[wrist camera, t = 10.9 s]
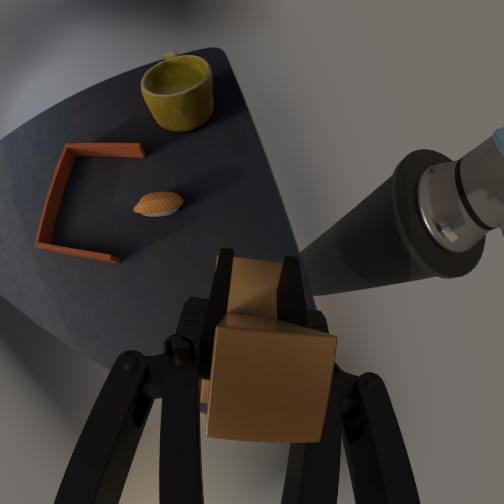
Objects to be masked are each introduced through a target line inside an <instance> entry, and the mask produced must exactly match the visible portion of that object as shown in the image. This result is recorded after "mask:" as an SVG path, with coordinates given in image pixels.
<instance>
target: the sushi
mask: <svg viewBox="0 0 504 504" xmlns="http://www.w3.org/2000/svg"><path fill="white" fill-rule="evenodd" d="M182 204H183V200H182V198H181V197H180V196H179V195H177V194H175V193H172V192H155V193H150V194H147V195H145V196H143V197H142V198H141V200H140V202H139V203H138V204H137V205H136V206H135V207H134V212H138V213H142V214H143V215H144V216H150V217H156V216H165V215H171V214H173V213H175V212H176V211H177V210H178V208H179V207H180V206H181V205H182Z"/></svg>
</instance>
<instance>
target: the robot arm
mask: <svg viewBox="0 0 504 504" xmlns="http://www.w3.org/2000/svg"><path fill="white" fill-rule="evenodd" d="M414 196H415V206H416V210H417V214H418V217H419V220H420V222H421V225H422V227H423V229H424V230H425V232H426V234H427V235H428V237H429V238H430V239H431V240H432V242H433V243H434V244H435V245H436V246H438V247H439V248H440V249H442V250H443V251H445V252H448V253H452V254H457V253H461V252H464V251H467V250H469V249H470V248H472V247H473V246H474V245H475V244H476V243H477V242H478V241H479V240H480V239H481V238H482V237H484V236H485V235H486V233H488V232H489V231H490V230H492V229H495V228H498V227H500V228H501V231H502V233H503V235H504V127H503V128H501V129H497V130H496V131H495V132H494V133H493V135H492V136H491V137H490V138H488V139H487V140H486V141H484V142H483V143H482V144H480V145H479V146H477V147H476V148H475V149H473V150H472V151H470V152H469V153H467V154H466V155H465V156H463V157H462V158H461V159H459V160H457V161H452V162H446V163H441V164H436V165H433V166H431V167H429V168H428V169H426V170H425V171H424V172H422V173H421V175H420V176H419V177H418V179H417V182H416V185H415V194H414ZM233 258H234V249H228V248H221V249H220V253H219V257H218V262H217V266H216V271H215V275H214V280H213V284H212V289H211V293H210V298H209V299H204V298H197V297H190V298H189V299H188V300H187V301H186V302H185V303H184V306H183V310H182V313H181V317H180V320H179V323H178V327H177V330H176V334H173V335H171V336H169V337H168V338H167V339H166V340H165V343H164V350H165V353H163V354H161V355H157V356H146V357H145V356H144V355H143V354H142V353H140V352H138V351H134V350H129V351H125V352H123V353H122V354H120V355H119V357H118V358H117V359H116V361H115V363H114V365H113V367H112V369H111V371H110V373H109V375H108V377H107V379H106V381H105V383H104V385H103V387H102V389H101V392H100V394H99V396H98V398H97V400H96V402H95V404H94V406H93V408H92V410H91V413H90V415H89V417H88V419H87V421H86V424H85V426H84V428H83V431H82V433H81V435H80V437H79V440H78V442H77V444H76V447H75V449H74V452H73V454H72V456H71V459H70V461H69V464H68V466H67V469H66V471H65V474H64V477H63V479H62V482H61V485H60V487H59V490H58V493H57V496H56V499H55V502H54V504H118V503H119V500H120V497H121V494H122V491H123V488H124V485H125V482H126V479H127V475H128V473H129V470H130V467H131V464H132V461H133V458H134V455H135V452H136V449H137V446H138V444H139V441H140V438H141V435H142V432H143V429H144V427H145V424H146V421H147V418H148V416H149V413H150V410H151V408H152V405H153V402H154V399H158V398H162V410H161V428H160V458H159V460H160V461H159V495H160V496H159V499H160V504H204V498H203V482H202V463H201V438H200V386H199V384H200V378H201V379H205V380H210V375H211V365H212V356H213V347H214V338H215V329H216V327H217V325H218V324H219V323H220V321H221V320H222V319H223V318H224V316H225V315H226V314H227V307H228V300H229V293H230V285H231V276H232V267H233ZM276 301H277V319H279V320H282V321H285V322H289V323H292V324H295V325H299V326H302V327H306V328H309V329H313V330H316V331H320V332H323V333H327V334H329V331H328V326H327V321H326V318H325V317H324V315H323V313H322V312H321V311H317V310H306V304H305V297H304V291H303V284H302V278H301V272H300V266H299V259H298V257H291V256H285V257H284V262H283V266H282V270H281V274H280V278H279V282H278V286H277V291H276ZM341 435H342V440H343V444H344V449H345V453H346V458H347V463H348V467H349V472H350V477H351V482H352V487H353V492H354V497H355V503H356V504H420V500H419V496H418V491H417V487H416V483H415V479H414V476H413V472H412V468H411V465H410V461H409V458H408V454H407V451H406V447H405V444H404V441H403V437H402V434H401V431H400V428H399V425H398V422H397V419H396V416H395V413H394V410H393V407H392V404H391V401H390V398H389V395H388V392H387V390H386V387H385V384H384V382H383V380H382V378H381V377H379V376H378V375H377V374H375V373H371V372H367V373H364V374H362V375H361V376H360V377H359V376H355V375H352V374H349V373H346V372H344V371H342V370H341V369H340V367H339V366H338V365H337V364H336V363H335V362H334V368H333V375H332V381H331V387H330V393H329V399H328V404H327V410H326V415H325V420H324V425H323V430H322V434H321V439H320V441H319V442H310V443H290V450H289V457H288V464H287V470H286V477H285V483H284V489H283V495H282V501H281V504H337V496H338V484H339V471H340V470H339V469H340V453H341V452H340V451H341Z"/></svg>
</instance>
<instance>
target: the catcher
mask: <svg viewBox="0 0 504 504" xmlns="http://www.w3.org/2000/svg"><path fill="white" fill-rule="evenodd" d="M145 155H146V154H145V152H144V150H143V148H142V146H141V144H140V143H72V144H66V145H65V147H64V150H63V152H62V155H61V157H60V160H59V162H58V165H57V168H56V171H55V173H54V176H53V179H52V182H51V185H50V188H49V192H48V195H47V198H46V201H45V205H44V208H43V212H42V216H41V219H40V223H39V227H38V232H37V236H36V241H35V245H34V246H35V247H38V248H41V249H44V250H46V251H52V252H57V253H62V254H68V255H73V256H79V257H84V258H90V259H95V260H101V261H107V262H113V263H120V259H119V258H117V257H115V256H113V255H110V254H104V253H98V252H92V251H86V250H80V249H74V248H68V247H62V246H56V245H51V244H50V242H51V238H52V233H53V229H54V225H55V221H56V217H57V213H58V210H59V206H60V203H61V199H62V196H63V192H64V189H65V186H66V183H67V180H68V177H69V174H70V171H71V168H72V165H73V163H74V160H75V157H76V156H111V157H140V158H145Z"/></svg>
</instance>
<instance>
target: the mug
mask: <svg viewBox="0 0 504 504" xmlns="http://www.w3.org/2000/svg"><path fill="white" fill-rule="evenodd" d="M164 60H165V61H162V62H160V63H158V64H157V65H155V66H153V67H152V68H150V69H149V70H148V71H147V72H146V73H145V75H144V76H143V79H142V81H141V91H142V95H143V97H144V99H145V102H146V103H147V105H148V107H149V109H150V111H151V113H152V114H153V116H154V118H155V120H156V121H157V123H158V124H159V125H160V126H161V127H162V128H164V129H166V130H168V131H172V132H179V133H181V132H186V131H191V130H194V129H195V128H197V127H199V126H201V125H203V124H204V123H205V122H206V121H207V120H208V119H209V118H210V117H211V115H212V112H213V108H214V101H213V96H212V70H211V67H210V66H209V64H208V63H207V62H206V61H205V60H204V59H203V58H200V57H197V56H191V55H184V56H178V53H177V51H170V52H168V53H165V54H164Z"/></svg>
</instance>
